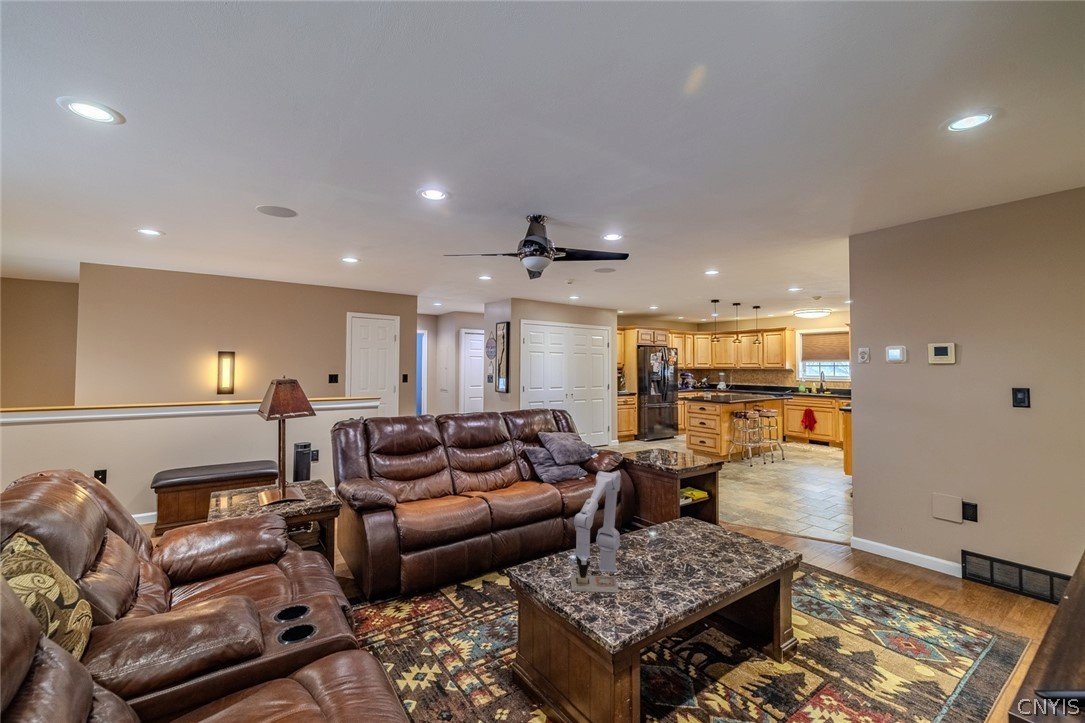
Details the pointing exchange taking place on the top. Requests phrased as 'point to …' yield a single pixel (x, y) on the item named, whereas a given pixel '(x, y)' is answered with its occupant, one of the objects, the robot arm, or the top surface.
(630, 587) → the top surface
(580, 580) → the peg
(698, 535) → the top surface
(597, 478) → the robot arm
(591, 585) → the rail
